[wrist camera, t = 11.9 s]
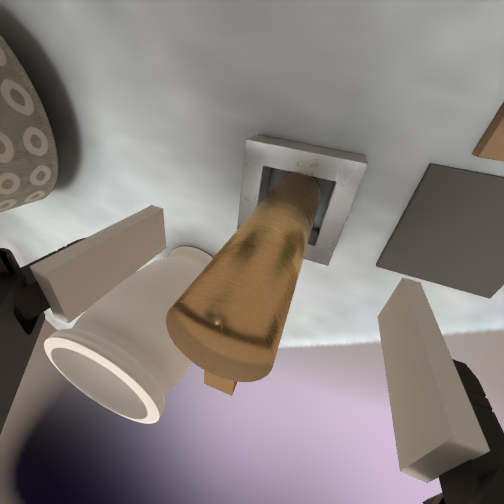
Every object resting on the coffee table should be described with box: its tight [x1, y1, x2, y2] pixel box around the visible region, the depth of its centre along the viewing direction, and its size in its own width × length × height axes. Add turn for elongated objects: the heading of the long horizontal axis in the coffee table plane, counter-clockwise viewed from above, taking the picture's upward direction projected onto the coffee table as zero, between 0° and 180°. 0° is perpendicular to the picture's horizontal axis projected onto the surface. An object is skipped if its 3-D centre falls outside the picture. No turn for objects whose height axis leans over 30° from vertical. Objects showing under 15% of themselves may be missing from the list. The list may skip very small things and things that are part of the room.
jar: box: [44, 246, 213, 424], centre depth 24 cm, size 11×10×15 cm
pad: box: [376, 163, 504, 298], centre depth 18 cm, size 9×9×1 cm
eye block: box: [237, 135, 368, 266], centre depth 20 cm, size 8×8×3 cm
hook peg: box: [166, 173, 321, 395], centre depth 15 cm, size 6×4×16 cm, turn 172°
